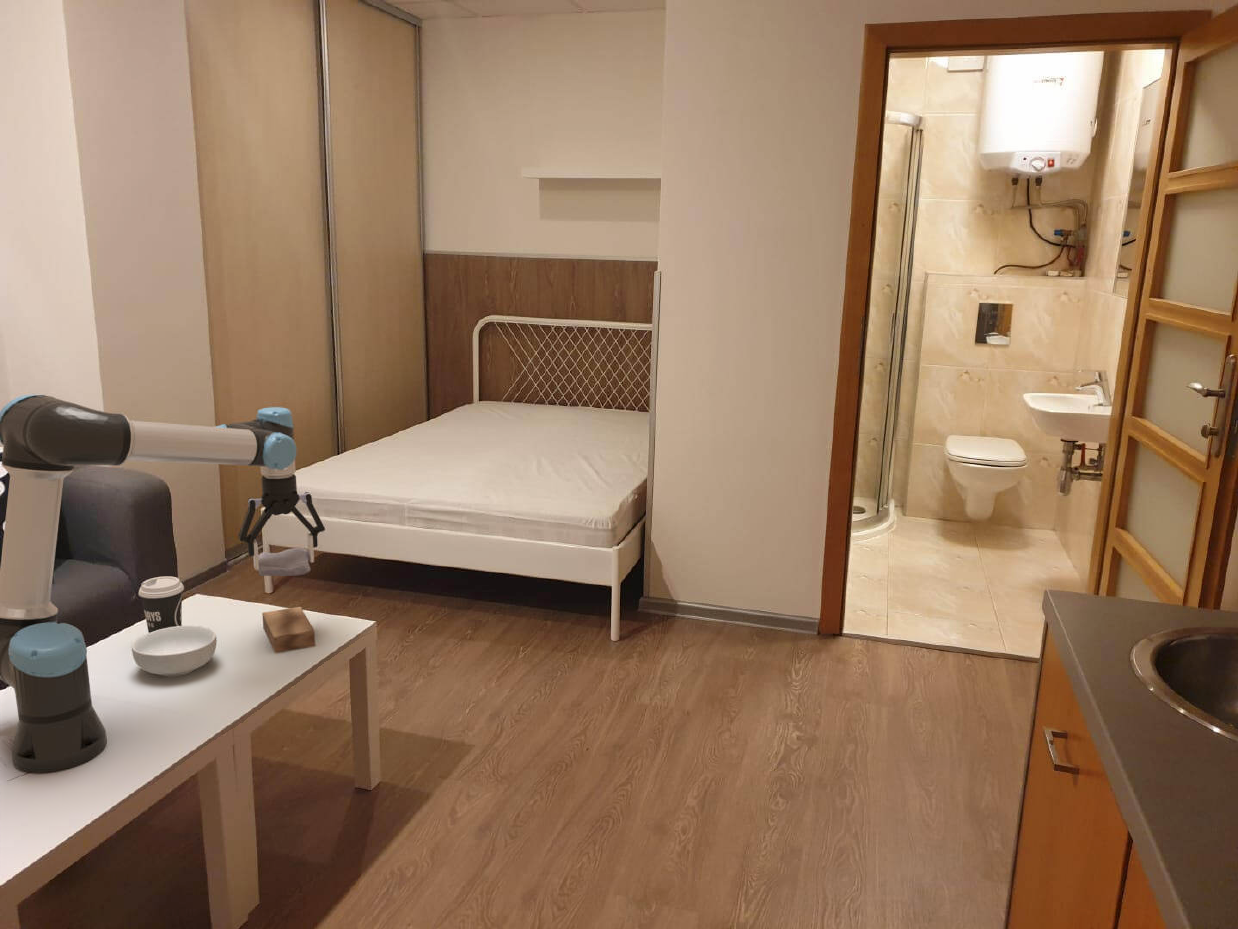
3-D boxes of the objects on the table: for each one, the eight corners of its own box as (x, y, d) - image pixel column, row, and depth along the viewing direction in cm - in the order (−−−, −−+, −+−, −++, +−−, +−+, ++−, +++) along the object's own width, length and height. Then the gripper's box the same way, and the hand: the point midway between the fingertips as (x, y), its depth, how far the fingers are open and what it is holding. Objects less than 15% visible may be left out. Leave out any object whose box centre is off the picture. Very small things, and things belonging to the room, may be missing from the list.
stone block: (312, 580, 224) (308, 559, 233) (311, 563, 222) (307, 542, 231) (258, 588, 220) (256, 566, 229) (256, 570, 218) (254, 549, 227)
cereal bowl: (233, 656, 218) (230, 627, 216) (191, 689, 202) (188, 658, 200) (164, 650, 220) (161, 621, 219) (117, 682, 204) (114, 651, 203)
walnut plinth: (274, 653, 220) (273, 636, 219) (263, 628, 234) (262, 612, 233) (315, 645, 224) (314, 630, 223) (301, 621, 238) (300, 606, 237)
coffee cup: (156, 633, 229) (151, 574, 226) (195, 635, 229) (190, 575, 225) (135, 650, 220) (129, 588, 216) (176, 651, 219) (170, 590, 216)
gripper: (225, 484, 211) (232, 577, 216) (335, 473, 222) (339, 561, 227) (220, 476, 217) (227, 566, 222) (328, 466, 229) (332, 552, 234)
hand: (284, 564), depth 225 cm, fingers closed on stone block, 12 cm apart
